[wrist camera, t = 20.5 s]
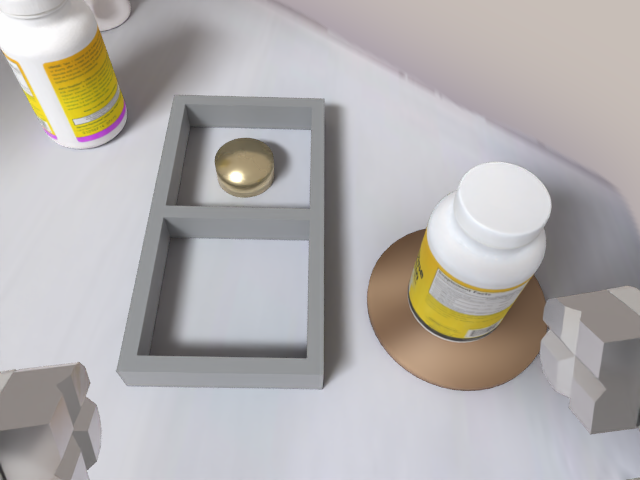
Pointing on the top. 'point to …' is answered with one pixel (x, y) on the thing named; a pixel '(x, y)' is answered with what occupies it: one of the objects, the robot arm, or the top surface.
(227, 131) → the top surface
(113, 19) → the shiny silver flared piece
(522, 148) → the top surface
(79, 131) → the supplement bottle
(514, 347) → the walnut coaster
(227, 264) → the top surface
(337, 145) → the top surface
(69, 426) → the robot arm
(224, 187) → the gold dome knob
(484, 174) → the pill bottle
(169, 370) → the parts tray
